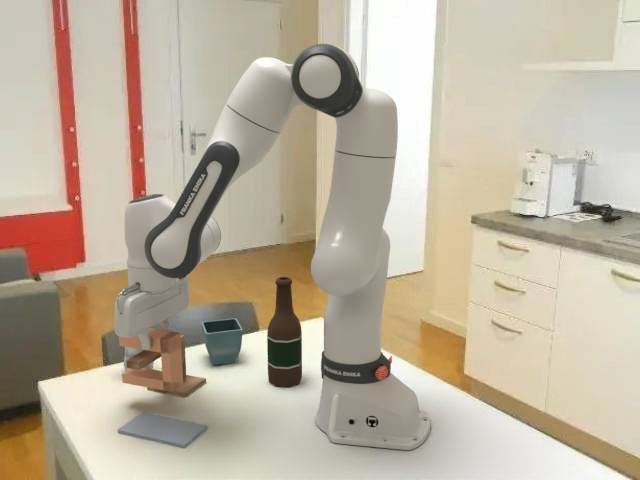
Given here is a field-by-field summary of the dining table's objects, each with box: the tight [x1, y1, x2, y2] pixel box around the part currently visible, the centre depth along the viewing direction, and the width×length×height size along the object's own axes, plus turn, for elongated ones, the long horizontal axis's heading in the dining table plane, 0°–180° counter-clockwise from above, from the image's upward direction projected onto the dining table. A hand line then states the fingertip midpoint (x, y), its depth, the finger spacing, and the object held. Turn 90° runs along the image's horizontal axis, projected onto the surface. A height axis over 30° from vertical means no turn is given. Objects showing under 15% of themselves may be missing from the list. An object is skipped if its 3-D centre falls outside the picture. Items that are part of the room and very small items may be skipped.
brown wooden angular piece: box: [126, 334, 207, 398], centre depth 138 cm, size 10×18×12 cm, turn 158°
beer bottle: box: [266, 276, 303, 388], centre depth 144 cm, size 8×8×24 cm
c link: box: [118, 327, 183, 392], centre depth 132 cm, size 12×4×11 cm, turn 68°
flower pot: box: [201, 318, 244, 365], centre depth 158 cm, size 9×9×9 cm
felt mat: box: [117, 410, 209, 449], centre depth 125 cm, size 15×8×1 cm, turn 68°
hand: (156, 343), depth 131 cm, fingers closed on c link, 4 cm apart
